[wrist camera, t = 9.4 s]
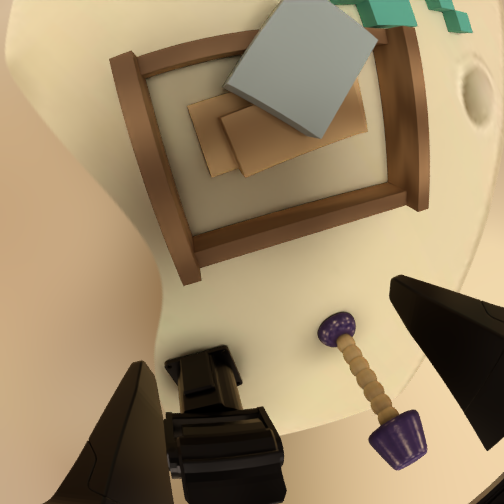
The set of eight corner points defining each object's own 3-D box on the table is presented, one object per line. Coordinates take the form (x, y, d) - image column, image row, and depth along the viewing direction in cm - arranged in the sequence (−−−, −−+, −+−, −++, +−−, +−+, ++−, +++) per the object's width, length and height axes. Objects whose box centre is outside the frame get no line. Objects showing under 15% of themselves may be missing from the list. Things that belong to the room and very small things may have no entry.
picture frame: (398, 192, 23) (428, 208, 20) (181, 255, 21) (183, 285, 18) (381, 33, 16) (414, 27, 13) (123, 68, 14) (109, 59, 11)
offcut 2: (354, 128, 19) (366, 130, 18) (241, 172, 19) (245, 177, 17) (339, 77, 17) (351, 76, 16) (217, 117, 17) (220, 118, 15)
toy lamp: (343, 343, 31) (417, 462, 17) (307, 347, 30) (377, 483, 15) (358, 310, 29) (450, 435, 14) (320, 313, 27) (409, 459, 13)
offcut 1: (357, 129, 20) (367, 131, 19) (209, 172, 20) (211, 177, 18) (344, 69, 18) (354, 68, 17) (186, 106, 17) (187, 105, 16)
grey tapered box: (361, 44, 15) (307, 136, 17) (286, -7, 12) (222, 87, 15) (378, 39, 13) (321, 139, 15) (298, -19, 10) (227, 83, 13)
